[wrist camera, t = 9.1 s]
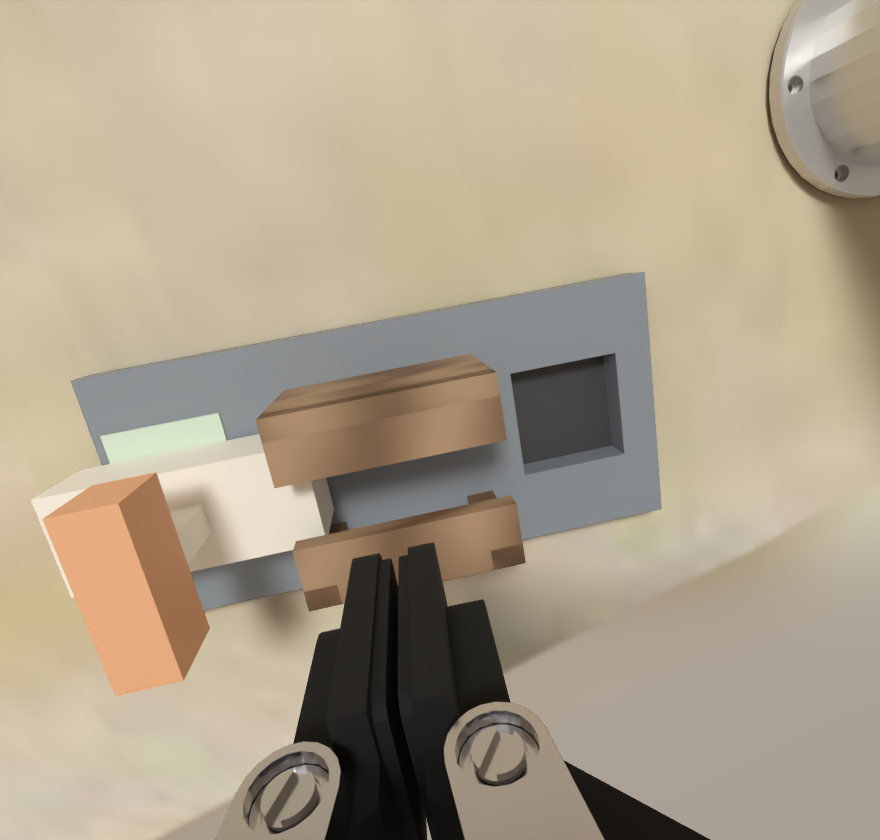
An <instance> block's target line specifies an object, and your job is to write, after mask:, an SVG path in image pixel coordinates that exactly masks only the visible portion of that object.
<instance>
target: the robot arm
mask: <svg viewBox="0 0 880 840" xmlns="http://www.w3.org/2000/svg"><path fill="white" fill-rule="evenodd" d="M769 102H770V110H771V117H772V124H773V127H774V130H775V133H776V136H777V139H778V142H779V145H780V147H781V149H782V150H783V152H784V154H785V156H786V158H787V159H788V161H789V163H790V164H791V165H792V166H793V168H794V169H795V170H796V171H797V172H798V173H799V174H800V176H801V177H802V178H804V179H805V180H806V181H808V182H809V183H810V184H812V185H813V186H815V187H816V188H817V189H820V190H822V191H824V192H827V193H829V194H832V195H834V196H840V197H847V198H865V197H874V196H879V195H880V0H796V1H795V3H794V5H793V7H792V9H791V11H790V13H789V15H788V16H787V18H786V20H785V22H784V24H783V27H782V30H781V32H780V35H779V38H778V41H777V44H776V47H775V50H774V55H773V61H772V66H771V71H770V88H769ZM426 818H427V822H428V826H429V830H430V834H431V838H432V840H710V839H708V838H706V837H704V836H702V835H701V834H699V833H697V832H695V831H693V830H692V829H689V828H688V827H686V826H684V825H682V824H680V823H678V822H676V821H675V820H673V819H671V818H669V817H667V816H666V815H664V814H661V813H660V812H658V811H656V810H654V809H653V808H651V807H649V806H647V805H645V804H643V803H642V802H640V801H638V800H636V799H634V798H632V797H630V796H629V795H627V794H625V793H623V792H621V791H619V790H618V789H616V788H614V787H612V786H610V785H608V784H606V783H605V782H602V781H601V780H599V779H597V778H595V777H593V776H592V775H590V774H588V773H586V772H584V771H582V770H581V769H578V768H577V767H575V766H573V765H571V764H569V763H567V762H566V761H564V760H563V759H562V757H561V755H560V753H559V751H558V749H557V747H556V745H555V743H554V741H553V739H552V737H551V735H550V733H549V732H548V730H547V728H546V726H545V725H544V724H543V722H542V721H541V720H540V718H539V717H538V716H537V715H535V714H534V713H533V712H531V711H530V710H528V709H527V708H525V707H523V706H520V705H517V704H514V703H510V699H509V695H508V692H507V688H506V684H505V680H504V676H503V672H502V668H501V664H500V660H499V656H498V653H497V649H496V645H495V641H494V637H493V633H492V629H491V625H490V621H489V618H488V614H487V610H486V606H485V602H484V600H478V601H473V602H468V603H463V604H458V605H454V606H449V607H448V606H447V601H446V596H445V592H444V587H443V582H442V577H441V572H440V567H439V563H438V558H437V553H436V548H435V544H434V542H432V543H427V544H422V545H417V546H412V547H408V555H404V556H399V568H398V583H397V579H396V574H395V570H394V566H393V562H392V559H391V558H389V559H384V560H382V557H381V555H380V553H377V554H372V555H367V556H363V557H358V558H353V559H352V563H351V569H350V575H349V580H348V586H347V592H346V598H345V604H344V610H343V616H342V621H341V627H340V629H336V630H331V631H326V632H322V633H320V634H319V636H318V639H317V643H316V647H315V651H314V656H313V660H312V665H311V669H310V673H309V678H308V682H307V686H306V691H305V695H304V700H303V704H302V708H301V713H300V717H299V721H298V726H297V730H296V735H295V739H294V743H293V744H291V745H288V746H286V747H283V748H281V749H279V750H277V751H275V752H273V753H272V754H270V755H269V756H268V757H266V758H265V759H263V760H262V761H261V762H259V763H258V764H257V765H256V766H255V768H254V769H253V770H252V771H251V772H250V773H249V774H248V775H247V776H246V777H245V779H244V781H243V782H242V784H241V786H240V787H239V789H238V791H237V792H236V794H235V796H234V799H233V801H232V803H231V805H230V807H229V810H228V812H227V814H226V816H225V818H224V821H223V823H222V825H221V827H220V829H219V831H218V834H217V836H216V838H215V840H427V827H426Z"/></svg>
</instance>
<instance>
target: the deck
mask: <svg viewBox="0 0 880 840" xmlns="http://www.w3.org/2000/svg"><path fill="white" fill-rule="evenodd" d="M466 354H471V355H473V356H474V357H475V358H477V359H478V360H480V361H481V362H483V363H484V364H486V365H487V366H488V367H490V368H491V369H493V370H494V371H496V372H497V378H498V385H499V391H500V398H501V404H502V411H503V418H504V424H505V431H506V437H507V440H505V441H501V442H496V443H491V444H486V445H481V446H476V447H472V448H467V449H462V450H457V451H452V452H448V453H443V454H438V455H433V456H428V457H424V458H419V459H414V460H409V461H404V462H399V463H395V464H390V465H385V466H380V467H375V468H371V469H366V470H361V471H356V472H351V473H346V474H342V475H337V476H332V477H327V478H326V479H327V483H328V487H329V491H330V495H331V499H332V503H333V507H334V511H333V516H332V521H331V525H333V524H338V523H343V522H346V523H347V527H348V530H351V529H355V528H360V527H365V526H369V525H374V524H379V523H383V522H388V521H393V520H397V519H402V518H407V517H411V516H416V515H421V514H425V513H430V512H435V511H439V510H444V509H448V508H453V507H458V506H462V505H467V504H468V498H467V496H469V495H474V494H478V493H483V492H488V491H493V492H494V494H495V496H496V498H500V497H504V496H509V495H511V496H512V497H513V499H514V500H515V502H516V504H517V510H518V516H519V523H520V530H521V536H522V540H524V539H528V538H533V537H538V536H542V535H547V534H551V533H556V532H560V531H565V530H569V529H574V528H578V527H583V526H587V525H592V524H596V523H601V522H605V521H610V520H614V519H619V518H623V517H628V516H633V515H637V514H642V513H646V512H651V511H655V510H660V509H662V508H661V494H660V480H659V466H658V452H657V439H656V425H655V411H654V397H653V384H652V370H651V356H650V342H649V329H648V315H647V301H646V287H645V273H644V272H642V273H627V274H622V275H617V276H611V277H606V278H601V279H595V280H590V281H585V282H579V283H574V284H569V285H564V286H558V287H553V288H548V289H542V290H537V291H532V292H527V293H521V294H516V295H511V296H505V297H500V298H495V299H489V300H484V301H479V302H474V303H468V304H463V305H458V306H452V307H447V308H442V309H437V310H431V311H426V312H421V313H415V314H410V315H405V316H399V317H394V318H389V319H384V320H378V321H373V322H368V323H362V324H357V325H352V326H347V327H341V328H336V329H331V330H325V331H320V332H315V333H309V334H304V335H299V336H294V337H288V338H283V339H278V340H272V341H267V342H262V343H257V344H251V345H246V346H241V347H235V348H230V349H225V350H219V351H214V352H209V353H204V354H198V355H193V356H188V357H182V358H177V359H172V360H167V361H161V362H156V363H151V364H145V365H140V366H135V367H129V368H124V369H119V370H114V371H108V372H103V373H98V374H92V375H89V376H85V377H82V378H79V379H75V380H72V381H71V383H72V386H73V389H74V391H75V394H76V397H77V399H78V402H79V405H80V408H81V410H82V413H83V416H84V418H85V421H86V424H87V426H88V429H89V432H90V435H91V437H92V440H93V443H94V445H95V448H96V451H97V453H98V456H99V459H100V462H101V464H102V465H107V464H112V463H117V462H122V461H127V460H132V459H137V458H142V457H147V456H152V455H157V454H162V453H167V452H172V451H177V450H182V449H187V448H192V447H197V446H202V445H207V444H212V443H217V442H222V441H227V440H232V439H237V438H242V437H247V436H252V435H257V434H259V431H258V428H257V424H256V421H255V420H256V419H257V418H258V417H259V416H260V415H261V414H262V413H263V411H264V410H265V409H266V408H267V407H268V406H269V405H270V404H271V403H272V402H273V401H274V400H275V399H276V398H277V397H278V396H279V395H280V394H281V393H282V391H283V390H287V389H292V388H297V387H302V386H308V385H313V384H318V383H323V382H328V381H333V380H338V379H343V378H349V377H354V376H359V375H364V374H369V373H374V372H379V371H384V370H389V369H395V368H400V367H405V366H410V365H415V364H420V363H425V362H430V361H435V360H441V359H446V358H451V357H456V356H461V355H466ZM191 575H192V578H193V581H194V584H195V587H196V590H197V593H198V595H199V598H200V601H201V604H202V607H203V610H207V609H212V608H216V607H221V606H225V605H230V604H234V603H239V602H244V601H248V600H253V599H257V598H262V597H266V596H271V595H275V594H280V593H284V592H289V591H293V590H298V589H302V584H301V581H300V577H299V574H298V570H297V566H296V563H295V559H294V556H293V550H290V551H285V552H281V553H276V554H272V555H267V556H262V557H258V558H253V559H248V560H244V561H239V562H234V563H230V564H225V565H221V566H216V567H211V568H207V569H202V570H197V571H193V572H191Z"/></svg>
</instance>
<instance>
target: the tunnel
mask: <svg viewBox="0 0 880 840" xmlns="http://www.w3.org/2000/svg"><path fill="white" fill-rule="evenodd" d="M255 421H256V424H257V428H258V431H259V435H260V439H261V442H262V446H263V449H264V453H265V456H266V460H267V463H268V467H269V471H270V474H271V478H272V481H273V485H274V488H279V487H284V486H289V485H294V484H298V483H303V482H308V481H313V480H318V479H322V478H327V477H332V476H337V475H342V474H346V473H351V472H356V471H361V470H366V469H371V468H375V467H380V466H385V465H390V464H395V463H399V462H404V461H409V460H414V459H419V458H424V457H428V456H433V455H438V454H443V453H448V452H452V451H457V450H462V449H467V448H472V447H476V446H481V445H486V444H491V443H496V442H501V441H505V440H507V437H506V431H505V424H504V418H503V411H502V404H501V398H500V391H499V385H498V378H497V372H496V371H494V370H493V369H491V368H490V367H488V366H487V365H486V364H484V363H483V362H481V361H480V360H478V359H477V358H475V357H474V356H473V355H471V354H466V355H461V356H456V357H451V358H446V359H441V360H435V361H430V362H425V363H420V364H415V365H410V366H405V367H400V368H395V369H389V370H384V371H379V372H374V373H369V374H364V375H359V376H354V377H349V378H343V379H338V380H333V381H328V382H323V383H318V384H313V385H308V386H302V387H297V388H292V389H287V390H283V391H282V393H281V394H280V395H279V396H278V397H277V398H276V399H275V400H274V401H273V402H272V403H271V404H270V405H269V406H268V407H267V408H266V409H265V410H264V411H263V413H262V414H261V415H260V416H259V417H258V418H257V419H256V420H255ZM467 498H468V504H467V505H462V506H458V507H453V508H448V509H444V510H439V511H435V512H430V513H425V514H421V515H416V516H411V517H407V518H402V519H397V520H393V521H388V522H383V523H379V524H374V525H369V526H365V527H360V528H355V529H351V530H348V527H347V523H346V522H343V523H338V524H333V525H330V530H329V534H327V535H323V536H318V537H314V538H309V539H304V540H300V541H296V543H295V546H294V549H293V556H294V559H295V563H296V566H297V570H298V574H299V577H300V581H301V584H302V588H303V591H304V595H305V598H306V602H307V606H308V609H309V611H313V610H318V609H322V608H327V607H331V606H336V605H340V604H344V603H345V598H346V592H347V586H348V580H349V575H350V569H351V563H352V559H353V558H358V557H363V556H367V555H372V554H377V553H380V555H381V557H382V560H384V559H389V558H391V559H392V562H393V566H394V570H395V574H396V579H397V583H398V568H399V556H404V555H408V547H412V546H417V545H422V544H427V543H432V542H434V544H435V548H436V553H437V558H438V563H439V567H440V572H441V577H442V582H443V581H447V580H452V579H456V578H460V577H465V576H469V575H474V574H478V573H483V572H487V571H492V570H496V569H501V568H505V567H510V566H514V565H518V564H523V563H525V556H524V549H523V543H522V536H521V530H520V523H519V516H518V510H517V504H516V502H515V500H514V499H513V497H512V496H511V495H509V496H504V497H500V498H496V496H495V494H494V492H493V491H488V492H483V493H478V494H474V495H469V496H467Z"/></svg>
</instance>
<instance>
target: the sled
mask: <svg viewBox="0 0 880 840" xmlns="http://www.w3.org/2000/svg"><path fill="white" fill-rule="evenodd" d="M31 502H32V504H33V507H34V509H35V511H36V514H37V516H38V519H39V521H40V523H41V526H42V528H43V531H44V533H45V536H46V538H47V540H48V543H49V545H50V548H51V550H52V552H53V555H54V557H55V560H56V562H57V564H58V567H59V569H60V572H61V574H62V576H63V579H64V581H65V584H66V586H67V588H68V591H69V593H70V596H71V598H72V597H75V600H76V602H77V605H78V607H79V609H80V612H81V614H82V617H83V619H84V621H85V624H86V626H87V629H88V631H89V633H90V636H91V638H92V641H93V643H94V646H95V648H96V650H97V653H98V655H99V658H100V660H101V662H102V665H103V667H104V670H105V672H106V674H107V677H108V679H109V682H110V684H111V687H112V689H113V691H114V694H115V696H118V695H123V694H127V693H131V692H136V691H140V690H145V689H149V688H153V687H158V686H162V685H166V684H171V683H175V682H179V681H184V679H185V677H186V675H187V673H188V671H189V669H190V667H191V665H192V663H193V661H194V659H195V657H196V655H197V653H198V651H199V649H200V647H201V645H202V643H203V641H204V639H205V637H206V635H207V633H208V631H209V629H210V628H209V625H208V622H207V619H206V616H205V613H204V610H203V607H202V604H201V601H200V598H199V595H198V593H197V590H196V587H195V584H194V581H193V578H192V575H191V572H193V571H197V570H202V569H207V568H211V567H216V566H221V565H225V564H230V563H234V562H239V561H244V560H248V559H253V558H258V557H262V556H267V555H272V554H276V553H281V552H285V551H290V550H293V549H294V546H295V543H296V541H300V540H304V539H309V538H314V537H318V536H323V535H327V534H329V530H330V525H331V521H332V516H333V511H334V507H333V503H332V499H331V495H330V491H329V487H328V483H327V479H326V478H322V479H318V480H313V481H308V482H303V483H298V484H294V485H289V486H284V487H279V488H274V485H273V481H272V478H271V474H270V471H269V467H268V463H267V460H266V456H265V453H264V449H263V446H262V442H261V439H260V435H259V434H257V435H252V436H247V437H242V438H237V439H232V440H227V441H222V442H217V443H212V444H207V445H202V446H197V447H192V448H187V449H182V450H177V451H172V452H167V453H162V454H157V455H152V456H147V457H142V458H137V459H132V460H127V461H122V462H117V463H112V464H107V465H102V466H97V467H92V468H87V469H82V470H80V471H78V472H76V473H75V474H73V475H71V476H70V477H68V478H66V479H65V480H63V481H61V482H60V483H58V484H56V485H55V486H53V487H51V488H50V489H48V490H46V491H45V492H43V493H41V494H40V495H38V496H37V497H35V498H33V499H32V500H31Z"/></svg>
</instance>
